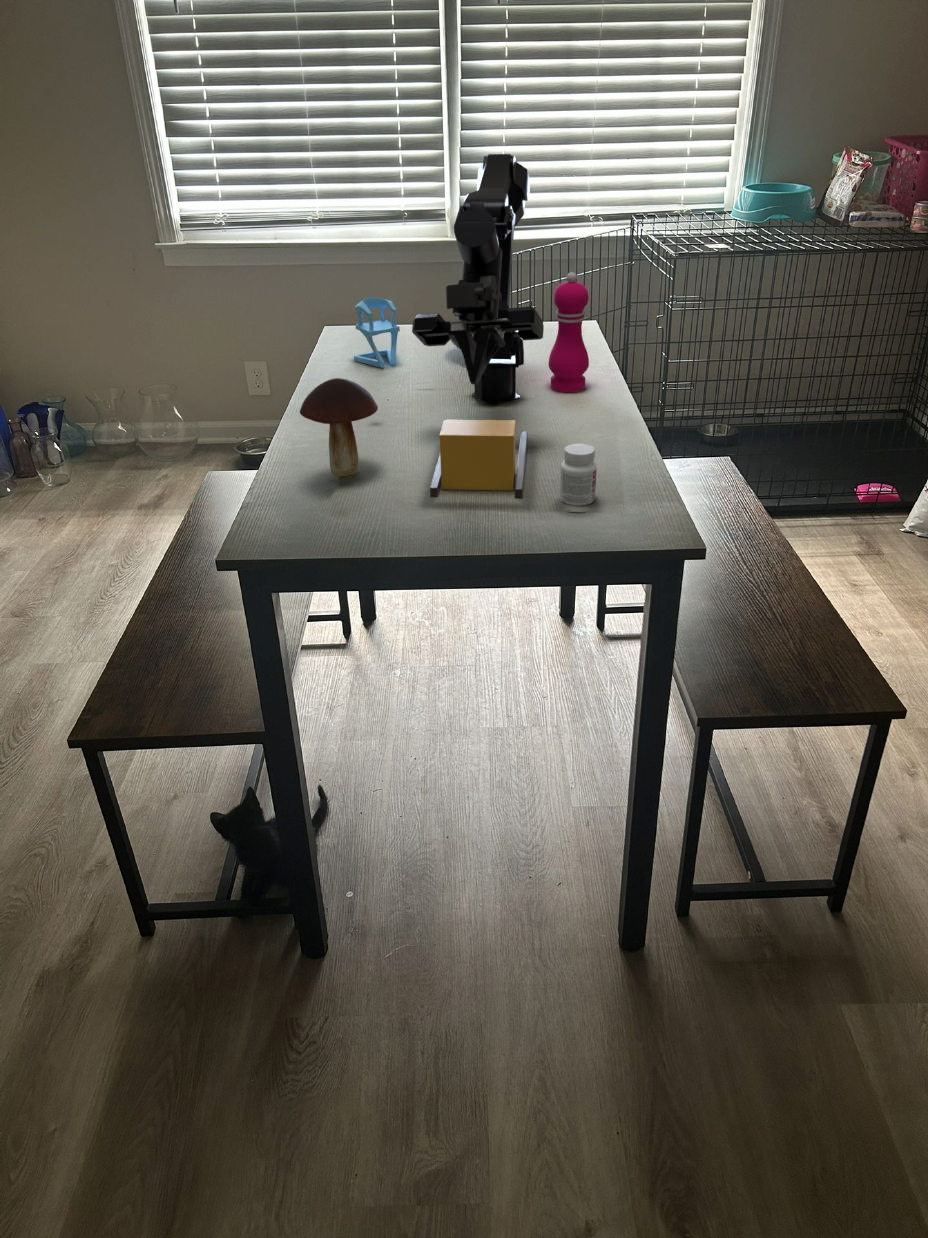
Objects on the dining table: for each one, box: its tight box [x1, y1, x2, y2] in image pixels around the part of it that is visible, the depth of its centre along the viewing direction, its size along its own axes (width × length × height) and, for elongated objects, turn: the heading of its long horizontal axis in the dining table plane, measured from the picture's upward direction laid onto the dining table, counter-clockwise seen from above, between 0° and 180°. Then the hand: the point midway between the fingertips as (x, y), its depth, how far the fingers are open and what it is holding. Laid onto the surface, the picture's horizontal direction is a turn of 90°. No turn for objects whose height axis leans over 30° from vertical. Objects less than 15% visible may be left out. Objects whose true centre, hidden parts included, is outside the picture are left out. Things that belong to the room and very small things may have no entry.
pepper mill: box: [547, 271, 590, 393], centre depth 167 cm, size 7×7×20 cm
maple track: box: [429, 431, 529, 499], centre depth 138 cm, size 22×14×3 cm, turn 175°
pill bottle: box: [559, 443, 598, 515], centre depth 127 cm, size 5×5×8 cm
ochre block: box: [439, 419, 517, 492], centre depth 132 cm, size 6×10×8 cm, turn 85°
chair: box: [353, 296, 401, 369], centre depth 184 cm, size 8×8×12 cm
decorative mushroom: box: [299, 377, 379, 480], centre depth 135 cm, size 11×11×15 cm
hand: (473, 383), depth 138 cm, fingers closed
